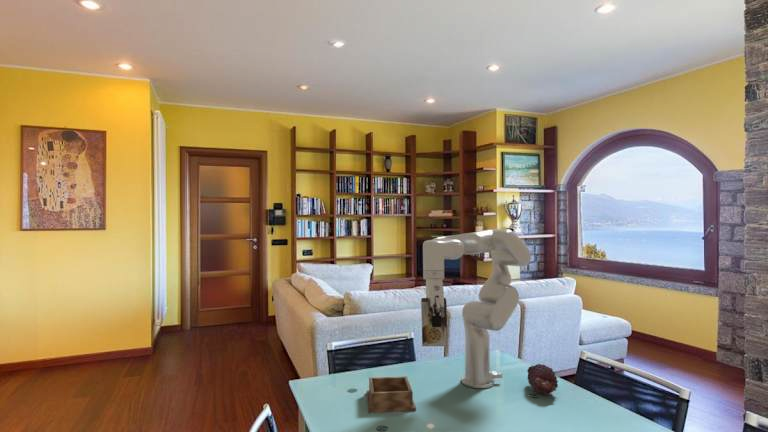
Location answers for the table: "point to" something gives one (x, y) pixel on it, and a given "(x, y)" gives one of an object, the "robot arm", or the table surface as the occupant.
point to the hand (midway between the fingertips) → (434, 323)
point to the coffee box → (433, 334)
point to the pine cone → (542, 379)
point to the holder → (389, 395)
